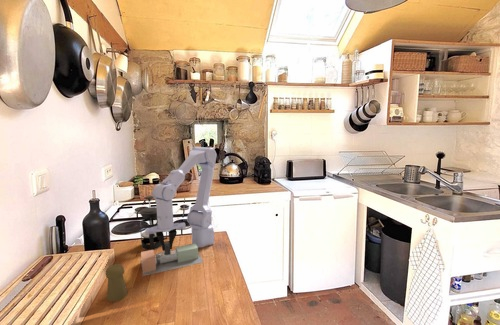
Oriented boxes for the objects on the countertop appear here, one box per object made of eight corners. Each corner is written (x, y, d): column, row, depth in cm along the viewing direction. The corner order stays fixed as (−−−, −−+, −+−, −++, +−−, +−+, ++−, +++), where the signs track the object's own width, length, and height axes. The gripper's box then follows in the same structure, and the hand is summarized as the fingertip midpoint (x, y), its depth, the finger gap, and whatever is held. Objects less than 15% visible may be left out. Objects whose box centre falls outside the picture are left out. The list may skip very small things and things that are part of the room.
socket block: (153, 259, 107) (153, 249, 106) (156, 269, 100) (155, 259, 99) (141, 262, 105) (140, 252, 104) (143, 272, 98) (142, 261, 97)
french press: (138, 253, 114) (134, 201, 110) (140, 243, 123) (136, 195, 119) (167, 249, 117) (164, 198, 114) (167, 240, 126) (164, 192, 122)
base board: (196, 250, 116) (195, 248, 116) (203, 264, 105) (203, 261, 105) (140, 262, 107) (140, 260, 106) (142, 278, 96) (142, 276, 96)
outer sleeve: (195, 253, 112) (195, 243, 111) (198, 258, 108) (198, 247, 107) (176, 257, 108) (175, 247, 108) (178, 262, 105) (177, 252, 104)
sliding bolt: (190, 253, 110) (190, 236, 109) (192, 256, 108) (191, 239, 106) (156, 260, 104) (154, 243, 103) (156, 264, 102) (155, 246, 101)
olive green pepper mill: (122, 289, 90) (119, 259, 88) (131, 297, 86) (128, 265, 84) (103, 299, 85) (100, 267, 83) (112, 307, 81) (108, 274, 79)
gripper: (145, 222, 95) (148, 257, 98) (186, 215, 101) (188, 249, 104) (144, 215, 102) (146, 249, 104) (182, 210, 108) (184, 242, 110)
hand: (167, 248), depth 104 cm, fingers closed on sliding bolt, 2 cm apart
